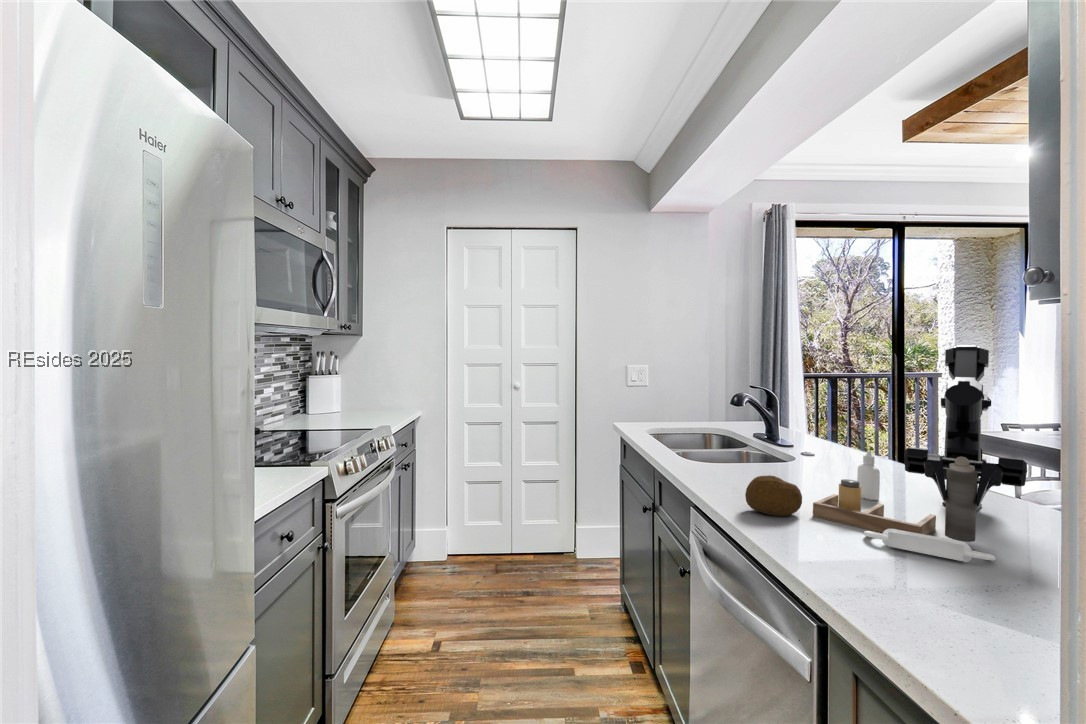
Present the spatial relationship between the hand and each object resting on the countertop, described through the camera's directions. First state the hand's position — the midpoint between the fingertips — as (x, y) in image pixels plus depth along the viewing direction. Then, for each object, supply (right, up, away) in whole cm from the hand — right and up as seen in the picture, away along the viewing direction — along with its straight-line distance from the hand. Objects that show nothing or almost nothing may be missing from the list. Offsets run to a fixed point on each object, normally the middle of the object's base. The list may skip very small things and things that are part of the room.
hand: (960, 502), depth 99 cm
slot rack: (-8, -8, +14) cm, 18 cm away
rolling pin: (-8, -9, -1) cm, 12 cm away
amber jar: (-11, -8, +18) cm, 22 cm away
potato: (-27, -8, +19) cm, 34 cm away
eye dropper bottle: (+3, -8, +33) cm, 34 cm away
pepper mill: (+1, -7, +1) cm, 7 cm away
